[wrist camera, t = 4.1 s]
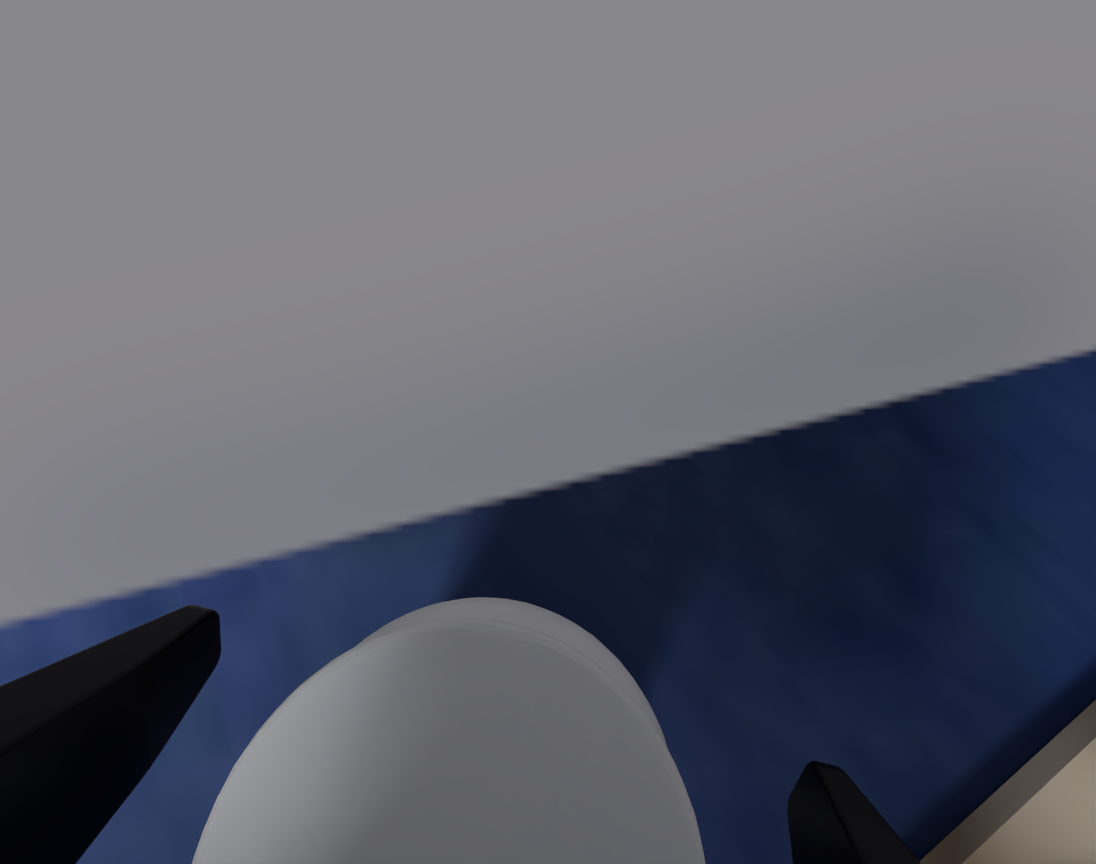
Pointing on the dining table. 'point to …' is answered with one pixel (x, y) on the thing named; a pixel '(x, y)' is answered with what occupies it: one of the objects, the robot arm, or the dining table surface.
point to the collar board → (1036, 809)
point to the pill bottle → (459, 754)
